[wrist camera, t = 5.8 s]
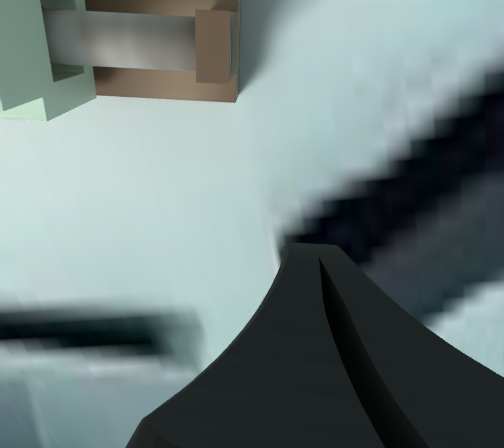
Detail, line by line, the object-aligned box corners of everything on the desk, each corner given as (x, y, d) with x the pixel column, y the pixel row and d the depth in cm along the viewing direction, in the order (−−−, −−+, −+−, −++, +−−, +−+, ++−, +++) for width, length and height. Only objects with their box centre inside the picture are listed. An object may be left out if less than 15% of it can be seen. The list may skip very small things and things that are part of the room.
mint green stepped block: (80, -36, 14) (-38, -69, 9) (96, 97, 16) (9, 139, 11) (9, -40, 14) (-151, -75, 9) (34, 94, 16) (-83, 134, 11)
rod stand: (241, -24, 16) (231, -39, 11) (238, 96, 18) (227, 123, 13) (6, -36, 16) (-97, -56, 11) (29, 84, 18) (-51, 108, 13)
